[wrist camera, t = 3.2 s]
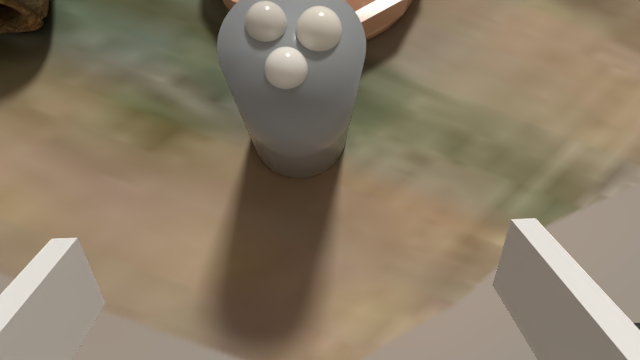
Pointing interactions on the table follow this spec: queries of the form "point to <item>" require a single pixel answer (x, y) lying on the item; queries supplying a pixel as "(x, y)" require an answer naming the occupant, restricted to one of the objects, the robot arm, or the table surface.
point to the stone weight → (22, 15)
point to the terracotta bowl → (368, 13)
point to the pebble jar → (294, 78)
